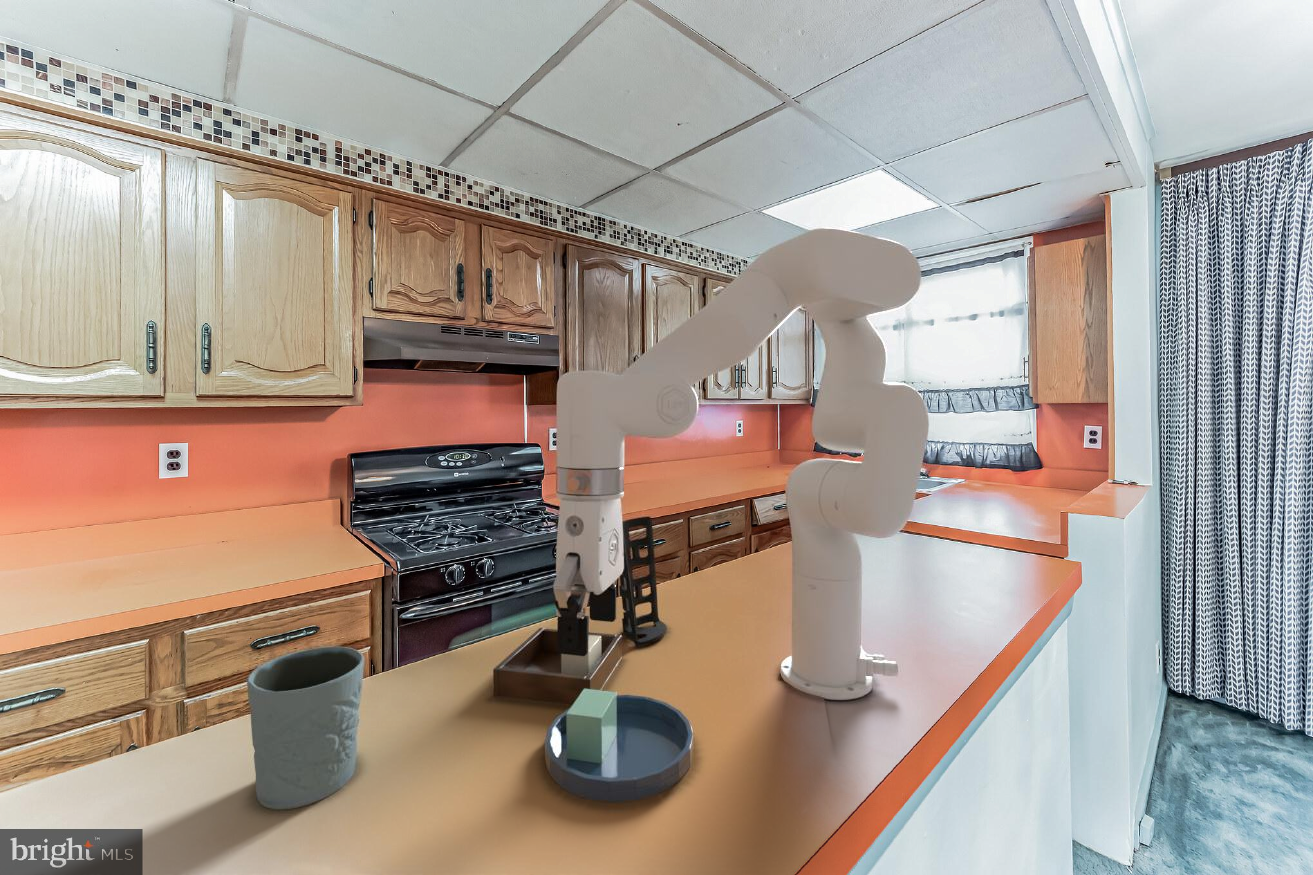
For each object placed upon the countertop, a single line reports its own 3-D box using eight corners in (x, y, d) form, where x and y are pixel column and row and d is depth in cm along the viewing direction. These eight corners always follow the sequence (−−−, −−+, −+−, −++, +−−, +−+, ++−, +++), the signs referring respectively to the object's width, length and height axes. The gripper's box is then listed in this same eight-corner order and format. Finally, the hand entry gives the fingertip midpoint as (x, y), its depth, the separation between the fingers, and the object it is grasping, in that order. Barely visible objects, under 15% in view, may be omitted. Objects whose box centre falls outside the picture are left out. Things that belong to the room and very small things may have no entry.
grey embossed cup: (288, 752, 60) (286, 646, 60) (382, 747, 61) (380, 643, 60) (223, 819, 50) (220, 692, 49) (337, 813, 51) (334, 688, 50)
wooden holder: (621, 661, 83) (621, 634, 83) (590, 711, 68) (590, 679, 68) (540, 652, 86) (539, 627, 86) (493, 699, 71) (492, 669, 71)
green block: (616, 733, 63) (616, 691, 62) (601, 763, 57) (601, 717, 57) (584, 729, 63) (584, 688, 63) (566, 758, 58) (566, 713, 58)
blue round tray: (701, 722, 66) (701, 702, 66) (679, 818, 50) (679, 791, 50) (577, 707, 69) (577, 688, 69) (519, 792, 53) (518, 768, 53)
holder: (659, 648, 87) (647, 525, 87) (614, 648, 88) (603, 528, 88) (671, 623, 98) (660, 514, 98) (631, 624, 99) (620, 517, 99)
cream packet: (601, 669, 79) (601, 635, 79) (588, 687, 73) (588, 651, 73) (575, 666, 80) (575, 633, 79) (561, 684, 74) (561, 649, 74)
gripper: (597, 494, 50) (595, 674, 51) (642, 477, 67) (640, 612, 68) (523, 491, 52) (522, 665, 52) (585, 475, 69) (584, 607, 69)
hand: (588, 635), depth 60 cm, fingers open, 9 cm apart
